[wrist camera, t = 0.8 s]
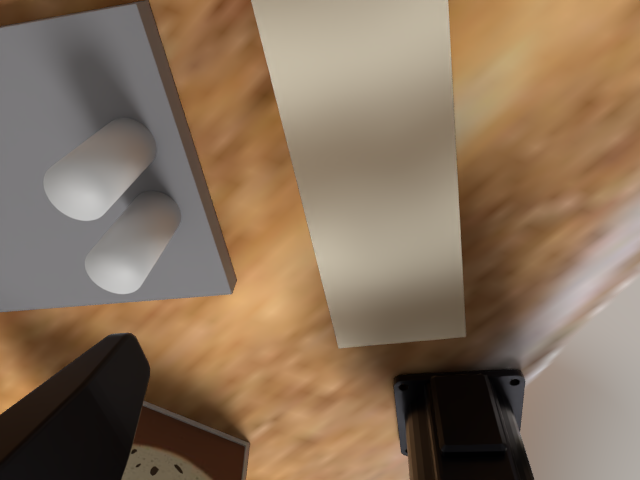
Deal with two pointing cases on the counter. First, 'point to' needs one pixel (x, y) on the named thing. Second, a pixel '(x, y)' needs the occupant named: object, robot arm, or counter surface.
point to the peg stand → (99, 168)
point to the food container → (183, 450)
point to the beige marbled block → (373, 159)
